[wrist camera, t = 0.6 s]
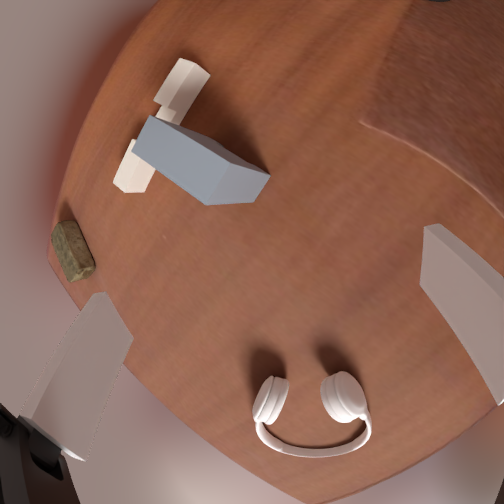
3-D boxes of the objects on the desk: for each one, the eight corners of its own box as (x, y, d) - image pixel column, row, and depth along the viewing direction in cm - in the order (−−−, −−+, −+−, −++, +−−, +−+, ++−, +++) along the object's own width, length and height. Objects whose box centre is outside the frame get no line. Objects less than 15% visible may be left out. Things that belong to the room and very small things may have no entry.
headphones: (229, 400, 33) (264, 466, 38) (374, 395, 26) (369, 465, 32) (245, 366, 39) (273, 437, 44) (371, 357, 33) (369, 434, 38)
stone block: (76, 216, 46) (57, 219, 41) (100, 267, 46) (80, 274, 41) (65, 232, 48) (47, 236, 43) (87, 280, 48) (69, 287, 43)
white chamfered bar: (195, 69, 33) (179, 57, 29) (210, 75, 33) (195, 63, 29) (132, 182, 40) (112, 182, 36) (144, 192, 39) (124, 192, 35)
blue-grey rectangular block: (194, 162, 36) (130, 151, 24) (209, 137, 35) (149, 114, 23) (253, 202, 35) (205, 205, 22) (270, 175, 33) (230, 163, 21)
